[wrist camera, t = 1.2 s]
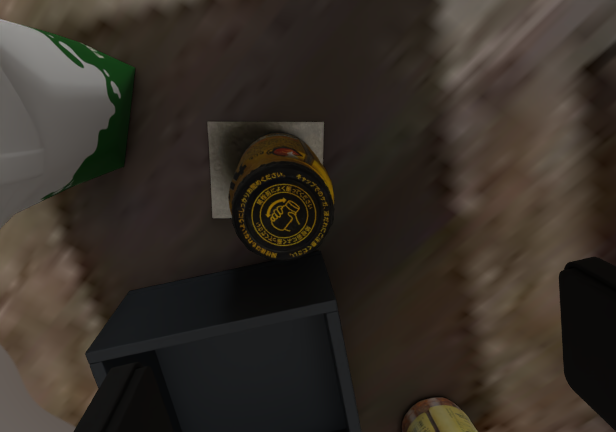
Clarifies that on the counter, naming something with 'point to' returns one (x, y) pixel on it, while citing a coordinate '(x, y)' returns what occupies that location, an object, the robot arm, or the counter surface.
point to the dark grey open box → (239, 349)
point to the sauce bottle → (436, 417)
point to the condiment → (272, 185)
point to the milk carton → (57, 115)
